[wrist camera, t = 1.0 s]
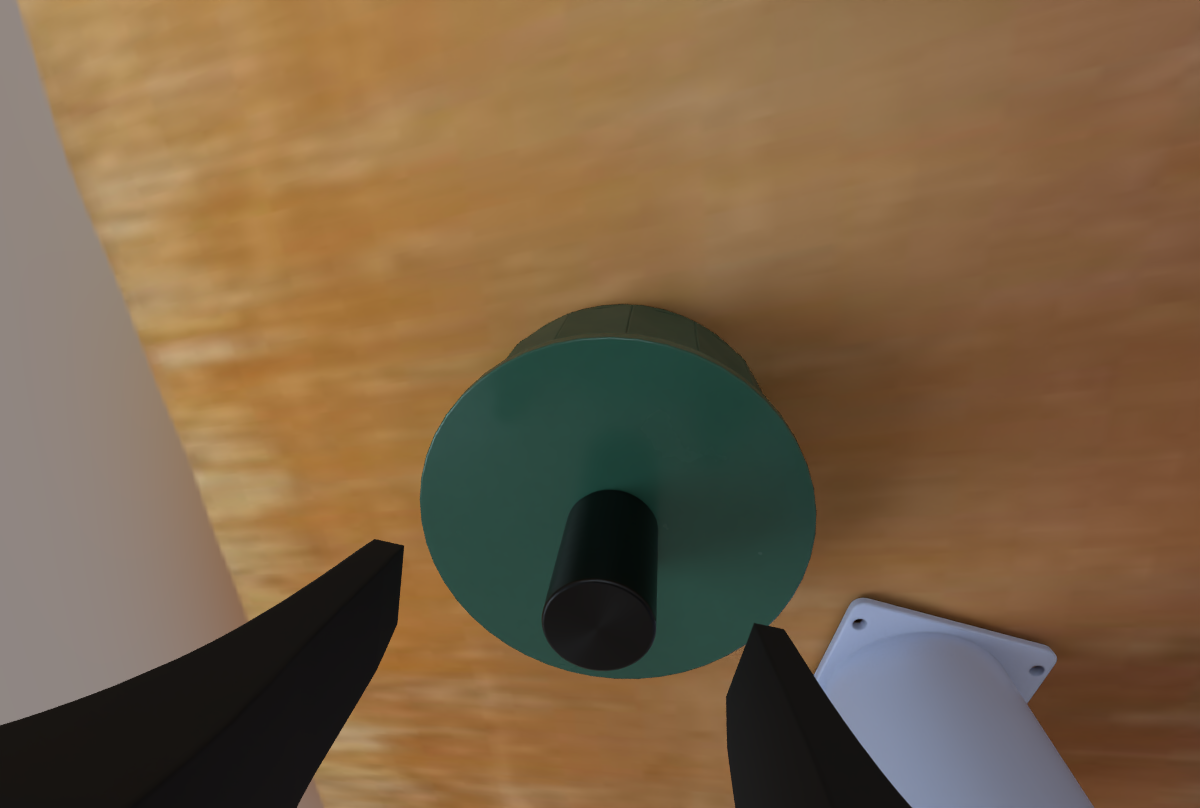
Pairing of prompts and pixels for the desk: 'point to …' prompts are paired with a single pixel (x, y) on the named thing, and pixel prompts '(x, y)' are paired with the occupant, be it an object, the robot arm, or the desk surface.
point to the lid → (618, 505)
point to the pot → (640, 331)
